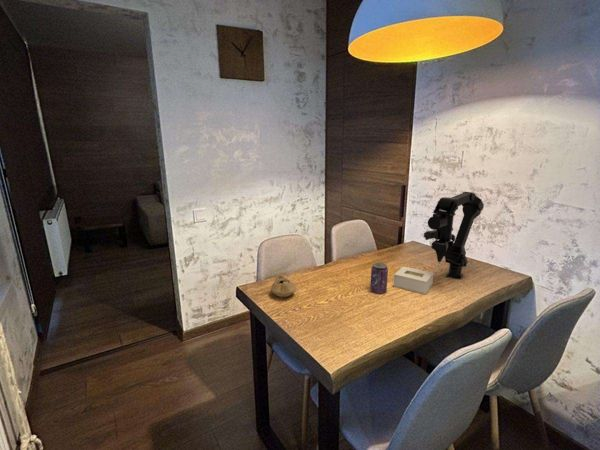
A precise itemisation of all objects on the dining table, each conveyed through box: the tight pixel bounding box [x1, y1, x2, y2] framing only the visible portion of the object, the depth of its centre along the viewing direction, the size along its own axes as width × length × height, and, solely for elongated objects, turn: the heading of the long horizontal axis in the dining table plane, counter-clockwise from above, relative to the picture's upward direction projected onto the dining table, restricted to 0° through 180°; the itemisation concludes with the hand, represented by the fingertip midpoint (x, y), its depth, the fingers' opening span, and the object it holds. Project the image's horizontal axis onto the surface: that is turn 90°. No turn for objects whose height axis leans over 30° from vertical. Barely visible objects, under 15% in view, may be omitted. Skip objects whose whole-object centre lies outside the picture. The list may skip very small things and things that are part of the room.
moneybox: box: [393, 266, 434, 295], centre depth 147 cm, size 12×14×6 cm
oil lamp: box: [270, 275, 297, 298], centre depth 139 cm, size 11×15×8 cm
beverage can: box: [369, 262, 389, 294], centre depth 141 cm, size 7×7×12 cm
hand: (441, 259), depth 147 cm, fingers open, 9 cm apart
